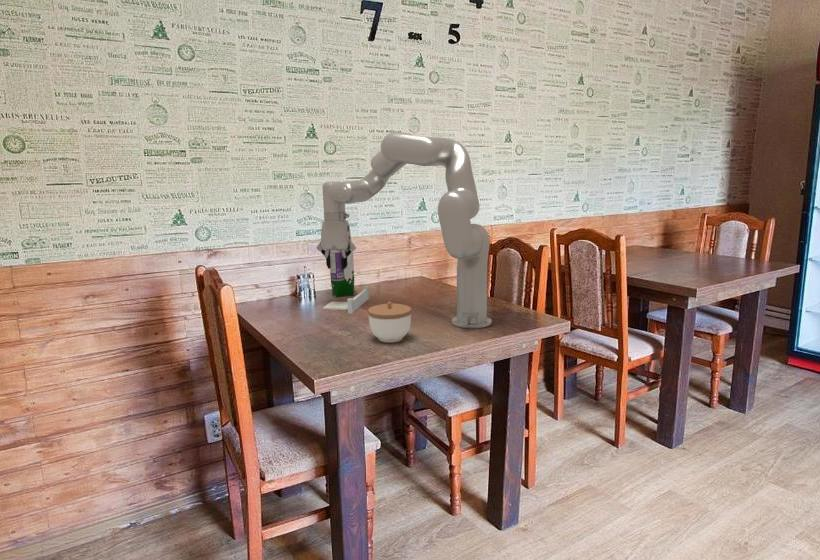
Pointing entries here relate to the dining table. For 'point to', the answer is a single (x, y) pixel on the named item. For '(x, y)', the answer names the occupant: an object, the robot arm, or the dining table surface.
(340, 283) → the milk carton
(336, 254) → the container
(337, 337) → the dining table surface
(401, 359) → the dining table surface
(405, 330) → the lidded bowl
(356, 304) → the acrylic wall
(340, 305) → the white pad
